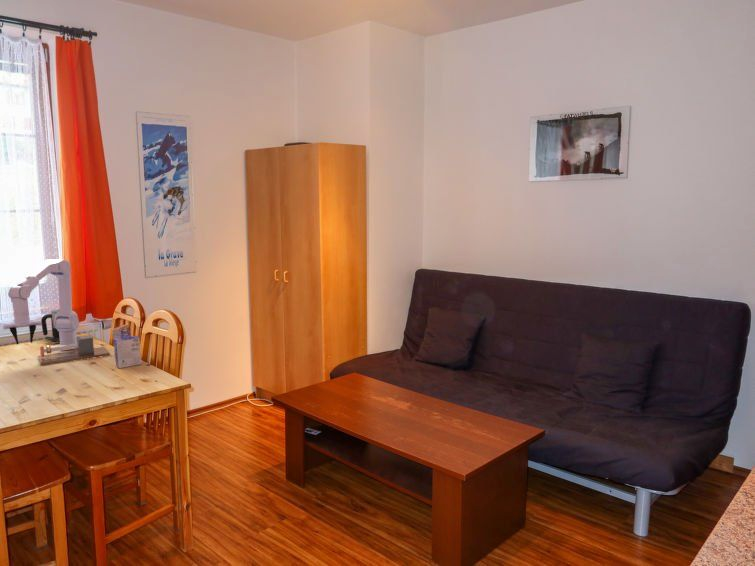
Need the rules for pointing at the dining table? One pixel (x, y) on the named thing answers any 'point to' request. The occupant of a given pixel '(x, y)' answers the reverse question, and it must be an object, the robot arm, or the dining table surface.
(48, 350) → the shaft
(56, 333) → the milk frother
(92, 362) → the dining table surface
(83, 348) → the bearing base
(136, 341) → the ink cartridge box
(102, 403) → the dining table surface
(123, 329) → the candy box
